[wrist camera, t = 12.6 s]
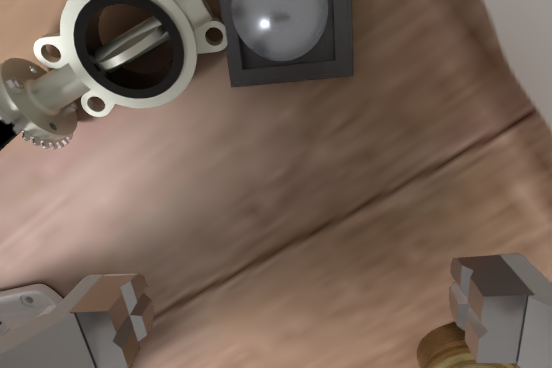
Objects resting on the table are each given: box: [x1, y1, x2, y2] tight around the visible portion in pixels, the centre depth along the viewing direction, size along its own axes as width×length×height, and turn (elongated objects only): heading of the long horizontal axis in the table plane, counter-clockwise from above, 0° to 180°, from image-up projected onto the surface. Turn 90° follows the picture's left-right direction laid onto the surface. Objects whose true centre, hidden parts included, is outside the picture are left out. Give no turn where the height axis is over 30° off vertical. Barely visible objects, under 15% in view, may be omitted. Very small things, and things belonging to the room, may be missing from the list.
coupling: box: [231, 0, 328, 61], centre depth 22 cm, size 6×6×6 cm
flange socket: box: [219, 0, 353, 87], centre depth 25 cm, size 9×9×2 cm
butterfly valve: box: [0, 0, 228, 150], centre depth 21 cm, size 9×20×17 cm
